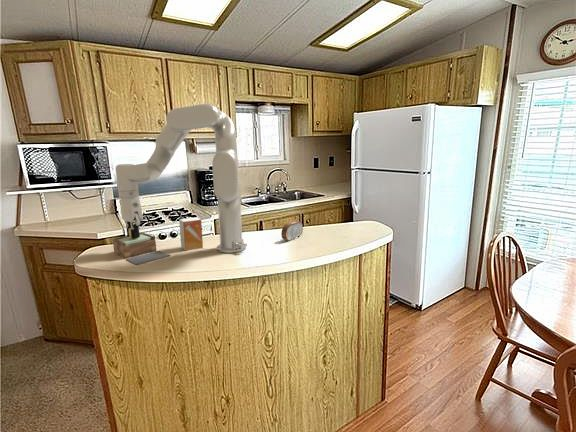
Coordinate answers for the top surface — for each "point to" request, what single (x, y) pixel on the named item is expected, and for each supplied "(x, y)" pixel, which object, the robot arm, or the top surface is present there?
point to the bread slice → (292, 230)
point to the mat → (147, 257)
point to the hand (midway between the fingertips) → (133, 236)
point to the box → (134, 247)
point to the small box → (191, 233)
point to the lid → (136, 240)
